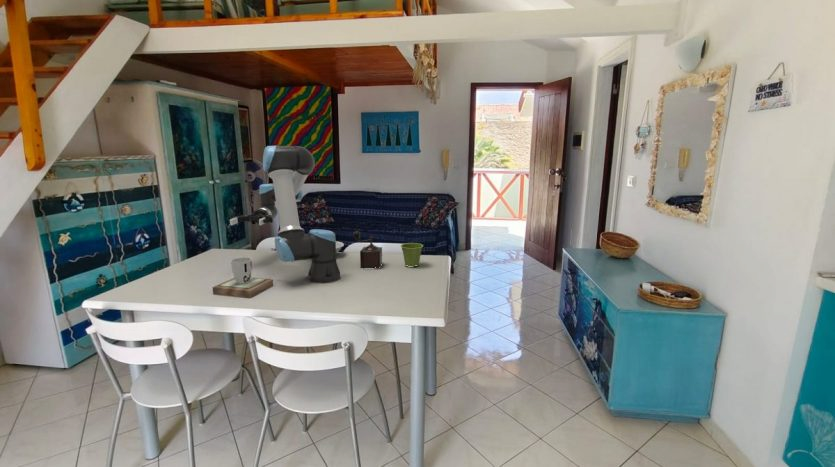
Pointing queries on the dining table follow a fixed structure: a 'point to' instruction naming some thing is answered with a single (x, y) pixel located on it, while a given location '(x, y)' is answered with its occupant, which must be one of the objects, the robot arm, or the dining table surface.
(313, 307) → the dining table surface
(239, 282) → the cup
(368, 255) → the manual coffee grinder
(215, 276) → the dining table surface
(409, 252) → the plant pot
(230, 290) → the wooden tray
